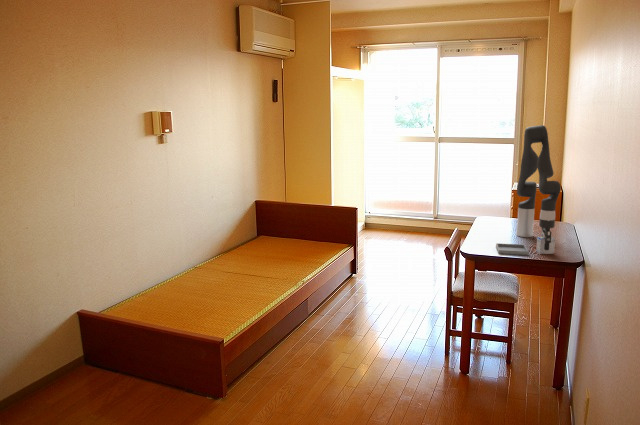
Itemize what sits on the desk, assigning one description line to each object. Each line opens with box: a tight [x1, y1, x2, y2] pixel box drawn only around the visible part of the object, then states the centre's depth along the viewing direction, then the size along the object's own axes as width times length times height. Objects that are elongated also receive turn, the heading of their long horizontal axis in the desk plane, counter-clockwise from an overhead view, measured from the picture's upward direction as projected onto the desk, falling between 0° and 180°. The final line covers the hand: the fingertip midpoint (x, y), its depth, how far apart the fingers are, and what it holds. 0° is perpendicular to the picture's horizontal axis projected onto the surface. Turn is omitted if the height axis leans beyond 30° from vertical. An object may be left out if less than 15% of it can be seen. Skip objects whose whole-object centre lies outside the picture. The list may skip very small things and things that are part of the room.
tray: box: [495, 242, 530, 257], centre depth 286 cm, size 15×15×2 cm
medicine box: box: [535, 236, 556, 255], centre depth 281 cm, size 8×4×9 cm, turn 92°
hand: (545, 248), depth 281 cm, fingers open, 8 cm apart
